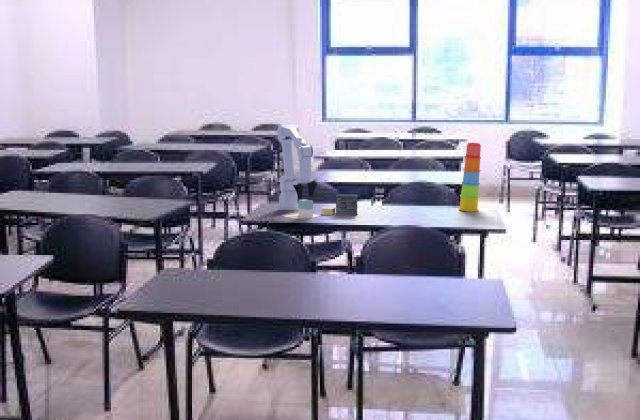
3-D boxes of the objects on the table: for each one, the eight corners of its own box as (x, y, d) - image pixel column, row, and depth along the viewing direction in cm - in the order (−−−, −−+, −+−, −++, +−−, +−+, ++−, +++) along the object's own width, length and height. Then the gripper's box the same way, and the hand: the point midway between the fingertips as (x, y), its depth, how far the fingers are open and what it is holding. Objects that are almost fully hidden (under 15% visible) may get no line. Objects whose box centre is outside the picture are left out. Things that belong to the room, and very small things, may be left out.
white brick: (298, 216, 360) (298, 208, 359) (304, 215, 363) (304, 207, 362) (307, 217, 356) (307, 209, 355) (312, 216, 359) (312, 208, 358)
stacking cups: (471, 207, 384) (474, 141, 377) (482, 211, 375) (485, 143, 368) (454, 209, 381) (456, 142, 374) (465, 212, 371) (467, 144, 364)
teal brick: (298, 208, 359) (298, 200, 359) (304, 207, 362) (304, 199, 361) (307, 209, 355) (307, 201, 354) (313, 208, 358) (313, 200, 357)
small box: (357, 214, 368) (357, 194, 366) (356, 217, 361) (357, 196, 359) (336, 214, 369) (336, 193, 367) (335, 216, 363) (335, 196, 360)
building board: (279, 217, 362) (279, 215, 362) (300, 212, 372) (299, 211, 372) (302, 221, 351) (302, 220, 351) (322, 217, 361) (322, 215, 361)
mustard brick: (321, 216, 365) (321, 208, 364) (323, 214, 368) (323, 206, 368) (332, 216, 363) (332, 209, 362) (335, 215, 367) (335, 207, 366)
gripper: (300, 172, 347) (300, 200, 350) (321, 169, 358) (321, 196, 360) (290, 171, 352) (290, 199, 355) (311, 168, 362) (311, 195, 365)
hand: (305, 197), depth 358 cm, fingers open, 7 cm apart
